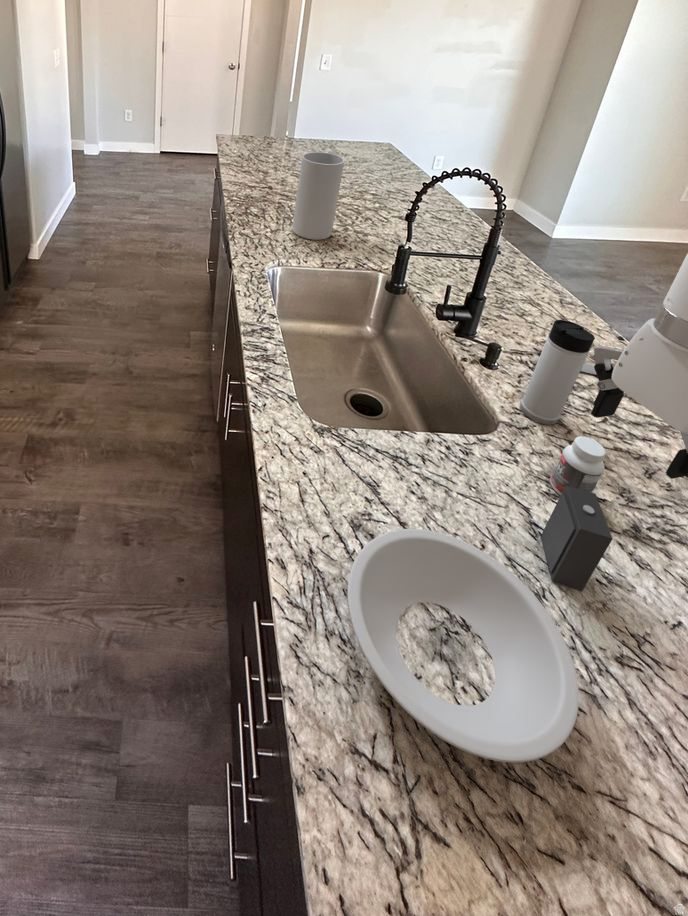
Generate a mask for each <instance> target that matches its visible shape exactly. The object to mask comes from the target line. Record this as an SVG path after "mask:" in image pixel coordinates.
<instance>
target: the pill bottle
mask: <svg viewBox="0 0 688 916" xmlns="http://www.w3.org/2000/svg"><path fill="white" fill-rule="evenodd" d="M606 452H607V451H606V449H605V448H604V447H603V445H602V444H601V443H599V442H598V441H596V440H595V439H593V438H591V437H588V436H583V435H582V436H576V437H575V438H574V440H573V442H572V444H569V445H567V446H565V447H564V449H563V450H562V452H561V454H560V457H559V459H558V461H557V463H556V465H555V466H554V469H553V471H552V473H551V475H550V477H549V483H550V487H551V488H552V489H553V490H554V492H556V493H557V495H559V497H560V496H561V494H562V492H563V490H564V488H565V486H566V485H567V486H570V487H574V488H577V489H581V490H584V491H588V492H591V493H594V489H595V488H596V486H597V485H598V483H599V481H600V479H601V477H602V475H603V473H604V471H605V463H604V458H605V456H606Z"/></svg>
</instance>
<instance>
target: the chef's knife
mask: <svg viewBox="0 0 688 916" xmlns="http://www.w3.org/2000/svg"><path fill="white" fill-rule="evenodd" d="M536 355H537V356H538V357H540V355H541V352H537V353H536ZM594 366H595V364H594V365H593V364H589V363H586V362H584V364H583V366H582V368H581V371H580V372H582V373H586V374H591V375H596V376H597V374H596V371H595V369H594Z"/></svg>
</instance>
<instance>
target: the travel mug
mask: <svg viewBox="0 0 688 916" xmlns="http://www.w3.org/2000/svg"><path fill="white" fill-rule="evenodd" d="M595 337H596V336H595V335H594V334H593V333H591V332H590V331H588V330H586V329H585V327H584V326H582V325H581V324H577V323H575V322H573V321H569V320H565V319H556V320H554V322H553V324H552V327H551V329H550V332H549V333H548V336H547V338H546V340H545V343H544V345H543V348H542V350H541V352H540V353H541V355H540V357H539V356H538V357H539V358H538V360H537V362H536V364H535V367H534V370H533V371H532V375H531V377H530V379H529V382H528V384H527V387H526V389H525V392H524V394H523V396H522V399H521V401H520V404H519V408H520V411H521V412H522V413H523V414H524V415H525V416H526V417H527V418H529V419H530V420H532V421H534V422H536V423H538V424H542V425H547V426H549V425H554V424H557V422H559V419H560V417H561V414H562V412H563V410H564V408H565V406H566V403H567V401H568V399H569V397H570V396H571V395H570V394H571V392H572V390H573V388H574V386H575V383H576V381H577V379H578V377H579V375H580V372H582V371H581V368H582V366H583V364H584V363H586V362H585V361H586V360H587V357H588V355H589V354H590V353H589V352H590V351H591V348H592V345H593V343H594V341H595V339H596V338H595Z"/></svg>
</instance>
